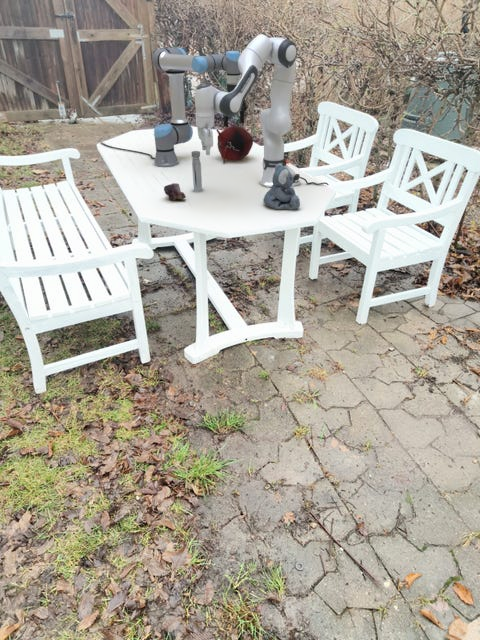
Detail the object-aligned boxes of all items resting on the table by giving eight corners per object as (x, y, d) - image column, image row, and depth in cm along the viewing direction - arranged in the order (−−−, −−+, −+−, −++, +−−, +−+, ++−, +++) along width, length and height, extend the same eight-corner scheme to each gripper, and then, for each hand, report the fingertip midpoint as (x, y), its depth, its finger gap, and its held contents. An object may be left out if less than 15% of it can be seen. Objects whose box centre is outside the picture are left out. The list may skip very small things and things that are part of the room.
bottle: (203, 190, 249) (201, 153, 238) (196, 192, 247) (194, 154, 236) (199, 188, 253) (197, 151, 241) (192, 190, 250) (189, 152, 239)
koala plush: (301, 210, 223) (303, 170, 212) (265, 211, 222) (266, 171, 211) (294, 198, 237) (297, 160, 226) (261, 199, 236) (261, 161, 225)
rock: (179, 196, 245) (162, 199, 241) (177, 180, 241) (160, 182, 237) (187, 199, 235) (169, 202, 231) (185, 182, 232) (167, 185, 228)
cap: (201, 156, 239) (201, 152, 238) (194, 157, 237) (194, 153, 236) (197, 154, 242) (197, 150, 241) (190, 156, 240) (189, 151, 239)
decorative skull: (214, 132, 306) (214, 129, 283) (248, 124, 306) (250, 120, 282) (221, 164, 313) (221, 164, 290) (254, 156, 312) (257, 156, 289)
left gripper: (222, 86, 238) (223, 129, 250) (253, 82, 253) (253, 122, 265) (212, 85, 242) (214, 127, 254) (243, 80, 257) (243, 120, 269)
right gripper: (216, 126, 207) (216, 157, 214) (207, 118, 223) (208, 147, 231) (202, 126, 205) (203, 158, 213) (194, 118, 222) (196, 147, 229)
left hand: (234, 125), depth 259 cm, fingers open, 13 cm apart
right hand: (206, 152), depth 222 cm, fingers open, 8 cm apart
